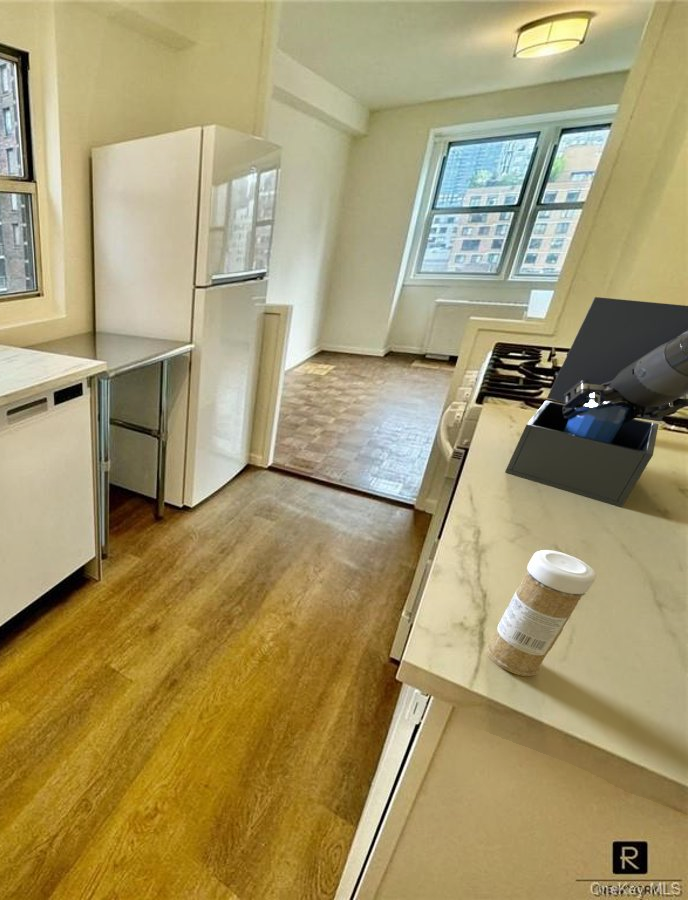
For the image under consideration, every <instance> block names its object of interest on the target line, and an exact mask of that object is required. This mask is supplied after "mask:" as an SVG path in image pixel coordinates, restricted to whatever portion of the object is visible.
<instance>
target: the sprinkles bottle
mask: <svg viewBox="0 0 688 900" xmlns="http://www.w3.org/2000/svg"><path fill="white" fill-rule="evenodd" d="M526 567H527V569H526V574H525V575H524V576H523V578H522V581H521V583H520V585H519V586H518V588H516V591H515V592H514V594H513V595H512V598H511V600H510V602H509V604H508V606H507V607H506V609H505V611H504V613H503V614H502V616H501V619H500V621H499V623H498V625H497V628H496V630H495V631H494V633H493V634H492V637H491V640H490V641H489V642H487V644H486V646H485V651H486V654H487V655H488V657H489V658H490V659H491V660H492V662H493V663H495V664H496V665H497V666H499V667H500V668H501V669H503V670H506V671H507V672H510V673H512V674H515V675H518V676H520V677H521V676H522V677H532V676H536V675H537V674H538V672H539V671H540V666H541V665H542V664H543V661H544V660H545V658H546V657H547V655H548V653H549V652H550V651H551V650H552V649H553V647H554V646H555V644H556V642H557V640H558V639H559V637H560V635H561V634H562V633H563V631H564V627H565V625H566V624H567V623H568V620H569V619H570V617H571V615H572V614H573V612H574V610H575V609H576V607H577V605H578V603H579V601H580V600H581V598H582V597H583V596H585V595H586V593H588V592H589V591H590V589H591V587H592V586H593V584H594V582H595V580H596V577H597V574H596V572H595V570H594V569H593V568H592V566H590V565H588V564H587V563H586V562H584V561H583V560H581V559H579V558H577V557H575V556H573V555H571V554H567V553H564V552H561V551H557V550H550V549H542V550H537V551H536V552H535V553H534V554H533V555H532V557H530V560H529V561H528V563H527V566H526Z"/></svg>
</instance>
